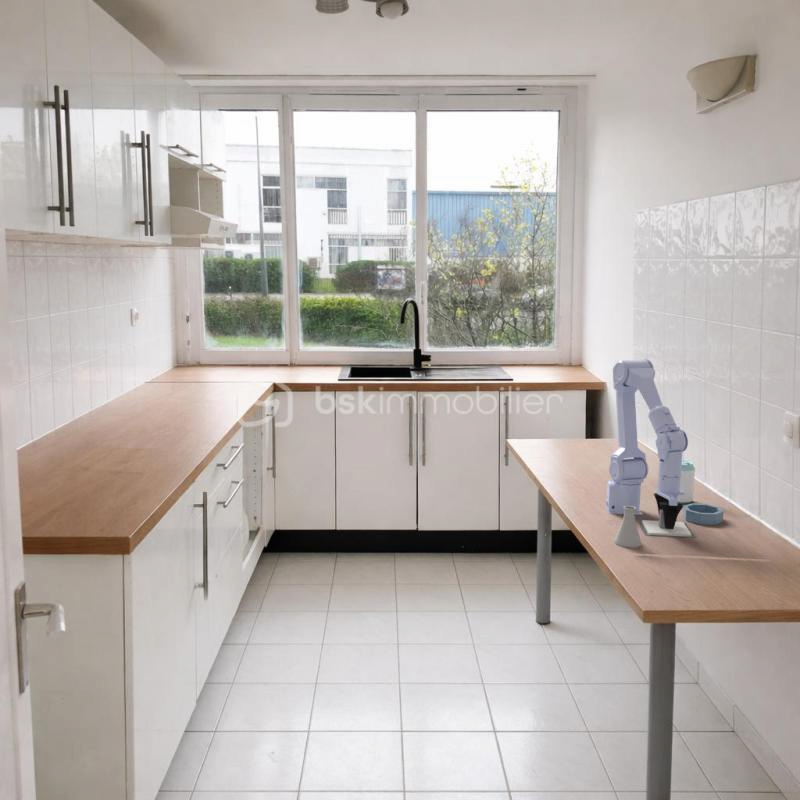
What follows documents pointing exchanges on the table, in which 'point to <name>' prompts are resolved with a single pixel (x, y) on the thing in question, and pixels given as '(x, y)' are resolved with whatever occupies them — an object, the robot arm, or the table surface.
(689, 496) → the can
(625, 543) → the flask
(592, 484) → the table surface
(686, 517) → the bowl
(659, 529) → the lid
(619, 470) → the robot arm
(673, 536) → the mat
